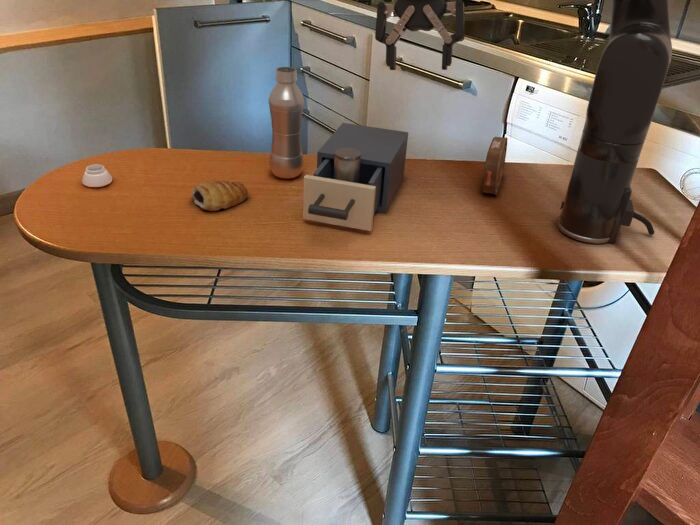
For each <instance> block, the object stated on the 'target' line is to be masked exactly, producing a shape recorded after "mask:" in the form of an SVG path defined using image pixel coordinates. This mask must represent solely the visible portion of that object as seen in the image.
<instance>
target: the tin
mask: <svg viewBox="0 0 700 525" xmlns="http://www.w3.org/2000/svg"><path fill="white" fill-rule="evenodd" d="M507 150H508V137H502V136H494V137H493V138H492V140H491V143H490V145H489V147H488V151H487V153H486V156H485V157H486V158H485V163H484V176H483V177H484V178H483V184H482V187H481V188H482V193H484V194H490V195H495V196H496V195H498V191H499V188H500V185H501V183H502V180H503V175H504V170H505V165H506V157H507Z"/></svg>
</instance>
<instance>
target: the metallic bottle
mask: <svg viewBox="0 0 700 525" xmlns="http://www.w3.org/2000/svg"><path fill="white" fill-rule="evenodd" d="M297 72H298V70H297V68H295V67H291V66H280V67H277V68H275V81H276V83H275V85H274V87H273V88H272V90H271V91H270V92H269V97H268V107H269V114H270V119H271V135H272V137H271V150H270V154H269V160H268V161H269V162H268V164H269V168H270V172H271V173H272V174H273V176H274V177H276V178H280V179H293V178H297V177H298V176H300V174H301V173H302V171H303V168H304V165H305V164H304V162H305V161H304V155H303V151H302V150H303V149H302V138H301V133H302V132H301V131H302V130H301V129H302V118H303V112H304V105H305V98H304V95H303V92H302V91H301V88H299V86H298V85H297V83H296V82H297V81H298V76H297V74H298V73H297Z"/></svg>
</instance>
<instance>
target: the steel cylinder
mask: <svg viewBox="0 0 700 525" xmlns="http://www.w3.org/2000/svg"><path fill="white" fill-rule="evenodd" d="M334 156H335V159H334V179H335V180H341V181H347V182H353V183H359V174H360V159H361V152H360V151H359V150H357V149H353V148H339V149H337V150H335V152H334Z"/></svg>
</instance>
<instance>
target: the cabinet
mask: <svg viewBox="0 0 700 525" xmlns="http://www.w3.org/2000/svg"><path fill="white" fill-rule="evenodd" d="M408 140H409V132H408V131H403V130H396V129H389V128H381V127H374V126H368V125H361V124H354V123H349V122H342V123H341V124H340V125H339V127H338V128H337V129H336V130H335V131H334V132H333V133H332V135H330V137H329V138H328V139H327V140H326V141H325V143H324V144H323V145H321V147H320V148H319V149H318V150H317V152H316V153H317V154H316V169H317V168H318V167H319V166H320V165H321V164H322V162H323V161H324V160H325V159H326V158H331V159H335V156H334V152H335V150H337V149H339V148H353V149H357V150H359V151H360V152H361V159H360V163H362V164H368V165H374V166H381V167H385V174H384V185H383V196H382V200H381V202H380V204H379V206H378V208H377V209H376V211H375V213H382V214H387V212H388V210H389V208H390V206H391V204H392V202H393V201H394V200H393V199H394V198H395V196H396V194H397V192H398V190H399V188H400V186H401V184H402V182H403V180H404V176H405V175H404V174H405V169H406V168H405V167H406V159H407V158H406V157H407V149H408Z"/></svg>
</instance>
